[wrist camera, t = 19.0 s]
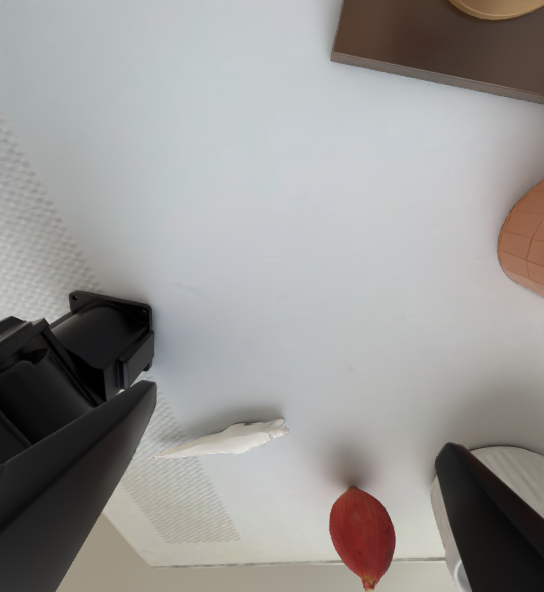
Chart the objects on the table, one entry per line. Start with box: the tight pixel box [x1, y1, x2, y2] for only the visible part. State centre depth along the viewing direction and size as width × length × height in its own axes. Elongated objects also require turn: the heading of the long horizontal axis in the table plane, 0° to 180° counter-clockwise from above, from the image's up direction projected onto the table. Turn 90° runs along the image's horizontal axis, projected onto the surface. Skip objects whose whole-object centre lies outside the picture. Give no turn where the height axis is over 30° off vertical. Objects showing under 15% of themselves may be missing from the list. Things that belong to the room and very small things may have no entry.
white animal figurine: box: [153, 419, 289, 459], centre depth 27 cm, size 15×3×2 cm, turn 113°
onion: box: [329, 487, 396, 592], centre depth 26 cm, size 6×6×8 cm
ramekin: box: [431, 446, 544, 592], centre depth 24 cm, size 13×13×7 cm
